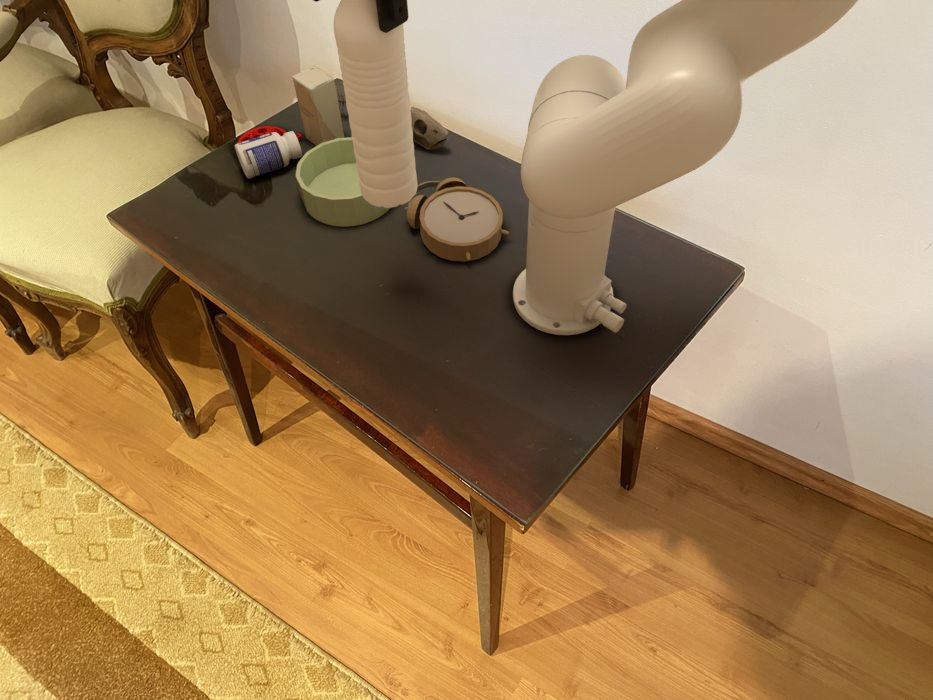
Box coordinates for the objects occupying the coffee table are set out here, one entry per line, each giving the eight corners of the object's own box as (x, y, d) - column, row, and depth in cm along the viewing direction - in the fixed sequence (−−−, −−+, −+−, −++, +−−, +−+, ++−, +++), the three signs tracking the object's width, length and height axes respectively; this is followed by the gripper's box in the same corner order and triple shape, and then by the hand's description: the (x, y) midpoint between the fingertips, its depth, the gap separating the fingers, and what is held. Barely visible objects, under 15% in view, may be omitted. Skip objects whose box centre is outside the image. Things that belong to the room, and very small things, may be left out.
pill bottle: (250, 186, 110) (306, 168, 113) (242, 162, 106) (301, 144, 108) (238, 161, 113) (294, 143, 115) (231, 136, 108) (288, 119, 110)
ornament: (236, 131, 117) (298, 120, 119) (237, 134, 118) (299, 123, 119) (238, 161, 113) (303, 149, 114) (239, 164, 113) (304, 153, 114)
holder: (417, 191, 108) (414, 163, 104) (346, 240, 102) (340, 213, 98) (354, 153, 114) (349, 125, 110) (284, 198, 108) (276, 170, 104)
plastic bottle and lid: (429, 190, 84) (413, -34, 64) (385, 217, 81) (354, -8, 61) (380, 156, 88) (351, -65, 68) (337, 181, 85) (293, -42, 65)
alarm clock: (459, 260, 94) (386, 190, 99) (456, 283, 99) (386, 214, 104) (521, 219, 99) (448, 154, 104) (516, 242, 103) (446, 179, 108)
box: (305, 138, 117) (289, 74, 108) (327, 127, 118) (313, 63, 110) (325, 153, 114) (310, 89, 105) (347, 141, 116) (334, 77, 107)
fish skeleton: (438, 163, 111) (437, 103, 104) (294, 111, 121) (284, 52, 113) (457, 146, 114) (458, 86, 107) (316, 96, 124) (307, 38, 117)
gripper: (446, -210, 53) (455, 23, 66) (287, -249, 60) (325, -31, 74) (372, -181, 49) (398, 59, 63) (213, -226, 57) (267, -2, 70)
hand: (358, 9), depth 68 cm, fingers closed on plastic bottle and lid, 8 cm apart
